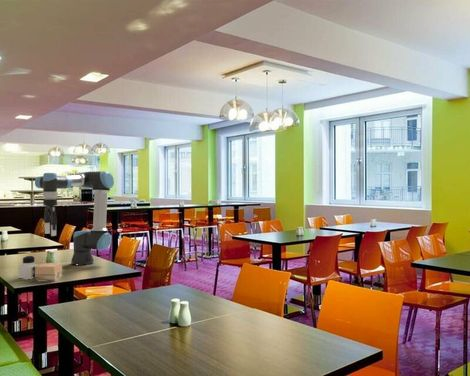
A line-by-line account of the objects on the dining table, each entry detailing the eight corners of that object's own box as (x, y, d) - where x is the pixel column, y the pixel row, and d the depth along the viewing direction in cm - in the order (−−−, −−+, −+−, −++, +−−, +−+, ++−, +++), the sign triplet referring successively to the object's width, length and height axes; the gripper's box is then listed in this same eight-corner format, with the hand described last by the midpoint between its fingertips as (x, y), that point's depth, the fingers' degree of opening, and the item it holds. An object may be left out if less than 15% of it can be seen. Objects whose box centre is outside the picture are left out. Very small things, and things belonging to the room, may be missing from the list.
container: (38, 276, 267) (38, 255, 267) (31, 279, 259) (30, 257, 259) (26, 276, 268) (25, 255, 267) (18, 279, 260) (18, 257, 260)
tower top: (43, 270, 266) (43, 262, 266) (62, 270, 266) (62, 262, 266) (35, 274, 255) (35, 266, 255) (54, 274, 255) (54, 266, 255)
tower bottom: (43, 277, 266) (43, 270, 266) (62, 277, 266) (62, 270, 266) (35, 282, 255) (35, 274, 255) (54, 281, 255) (54, 274, 255)
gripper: (38, 198, 269) (38, 233, 269) (49, 199, 249) (49, 237, 249) (50, 198, 273) (51, 232, 274) (63, 199, 253) (63, 236, 254)
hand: (50, 234), depth 261 cm, fingers open, 13 cm apart
